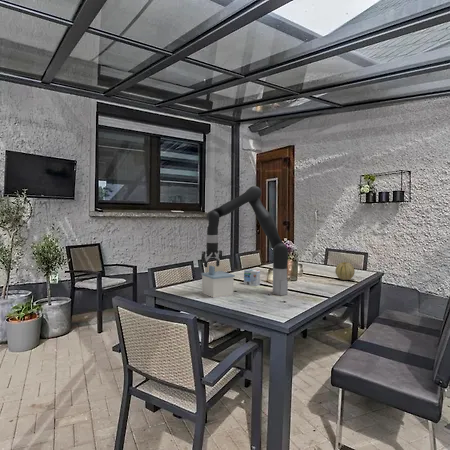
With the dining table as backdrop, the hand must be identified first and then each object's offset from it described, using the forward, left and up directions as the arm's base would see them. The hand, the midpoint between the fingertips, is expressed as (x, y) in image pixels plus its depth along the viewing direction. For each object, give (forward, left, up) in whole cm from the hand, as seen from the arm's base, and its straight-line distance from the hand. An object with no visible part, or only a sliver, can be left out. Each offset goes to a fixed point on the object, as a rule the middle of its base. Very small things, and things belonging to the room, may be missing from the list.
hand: (211, 266), depth 218 cm
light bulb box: (+12, -42, -19) cm, 47 cm away
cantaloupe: (-10, -119, -19) cm, 120 cm away
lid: (0, -5, -6) cm, 8 cm away
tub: (0, -5, -18) cm, 19 cm away
